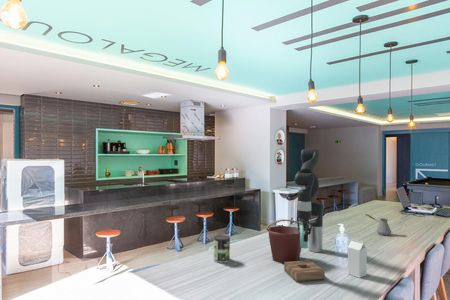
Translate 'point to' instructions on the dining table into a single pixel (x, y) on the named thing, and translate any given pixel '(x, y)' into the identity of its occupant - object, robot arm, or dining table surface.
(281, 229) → the bucket
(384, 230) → the coffee pot
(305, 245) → the dowel
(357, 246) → the milk carton
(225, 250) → the coffee can
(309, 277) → the bore block
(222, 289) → the dining table surface
